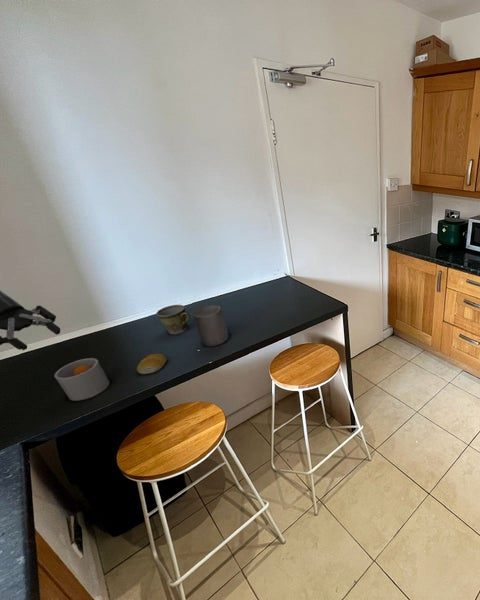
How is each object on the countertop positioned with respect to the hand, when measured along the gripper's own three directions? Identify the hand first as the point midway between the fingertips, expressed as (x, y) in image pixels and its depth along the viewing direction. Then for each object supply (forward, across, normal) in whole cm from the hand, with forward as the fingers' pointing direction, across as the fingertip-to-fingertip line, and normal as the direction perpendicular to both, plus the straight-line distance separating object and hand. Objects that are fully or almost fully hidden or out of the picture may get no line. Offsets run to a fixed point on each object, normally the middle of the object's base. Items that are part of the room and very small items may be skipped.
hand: (42, 340), depth 97 cm
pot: (+19, 0, +7) cm, 20 cm away
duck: (+18, +1, +7) cm, 20 cm away
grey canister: (+33, +34, -7) cm, 48 cm away
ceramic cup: (+19, +37, +8) cm, 42 cm away
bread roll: (+26, +14, 0) cm, 30 cm away
